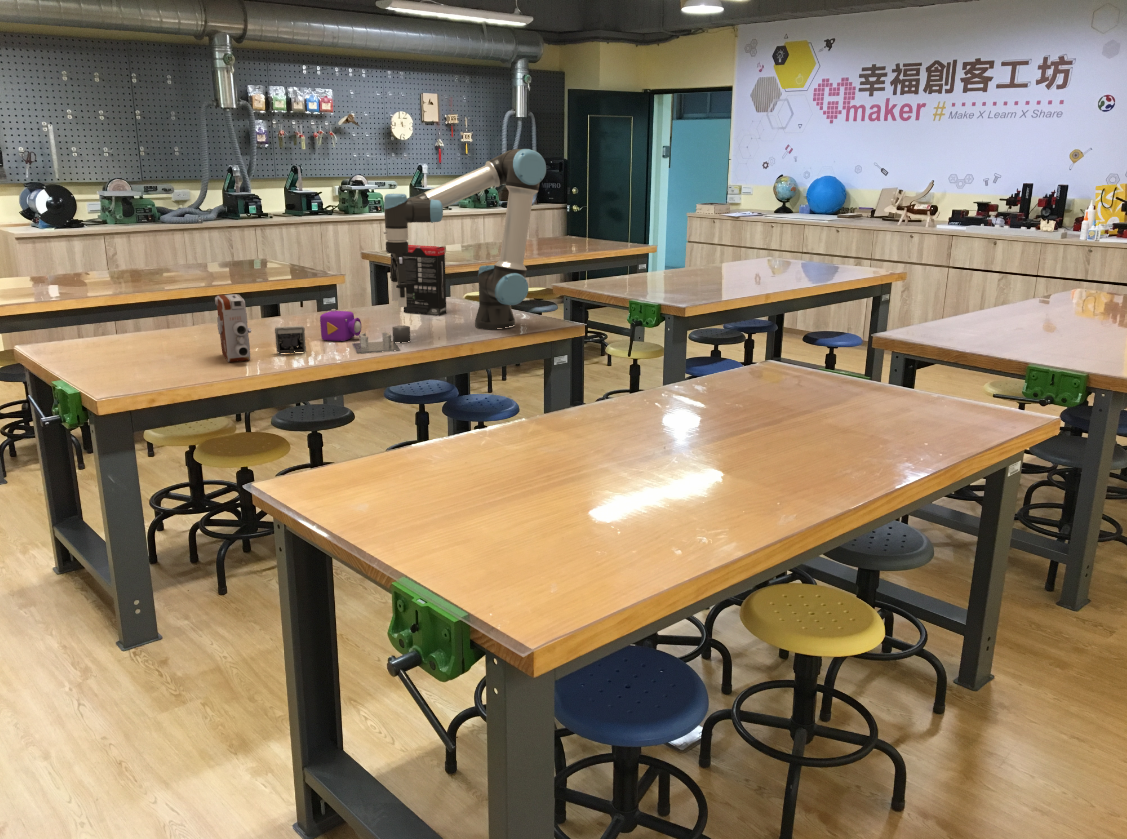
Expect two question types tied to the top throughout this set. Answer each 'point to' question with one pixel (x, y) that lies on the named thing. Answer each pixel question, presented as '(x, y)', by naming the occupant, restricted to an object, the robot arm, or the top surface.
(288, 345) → the electrical switch
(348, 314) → the toy camera
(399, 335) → the dark grey cylinder
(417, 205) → the robot arm
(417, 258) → the graphics card box
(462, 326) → the top surface
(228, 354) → the cine camera
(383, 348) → the grey square plate
